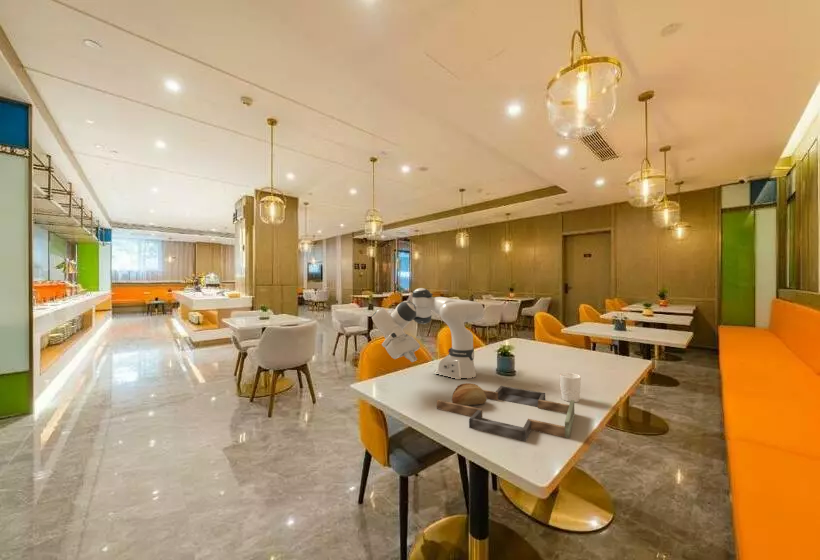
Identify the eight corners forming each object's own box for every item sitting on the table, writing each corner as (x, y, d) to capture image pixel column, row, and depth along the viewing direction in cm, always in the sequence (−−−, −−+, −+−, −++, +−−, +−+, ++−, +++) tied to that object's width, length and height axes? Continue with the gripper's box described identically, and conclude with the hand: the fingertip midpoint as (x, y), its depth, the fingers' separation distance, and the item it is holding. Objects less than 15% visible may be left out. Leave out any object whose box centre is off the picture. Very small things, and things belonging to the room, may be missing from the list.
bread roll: (446, 402, 131) (446, 383, 131) (478, 397, 136) (478, 379, 136) (458, 411, 122) (457, 390, 122) (491, 406, 127) (491, 386, 127)
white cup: (576, 396, 136) (575, 372, 136) (584, 403, 129) (584, 378, 129) (557, 395, 137) (556, 372, 137) (564, 402, 129) (563, 378, 129)
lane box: (425, 417, 117) (425, 403, 117) (465, 386, 150) (465, 375, 150) (566, 451, 93) (566, 434, 93) (576, 405, 126) (576, 393, 126)
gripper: (404, 338, 157) (421, 360, 152) (379, 345, 140) (398, 370, 135) (411, 329, 155) (429, 351, 150) (387, 336, 138) (406, 361, 132)
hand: (414, 360), depth 142 cm, fingers closed
